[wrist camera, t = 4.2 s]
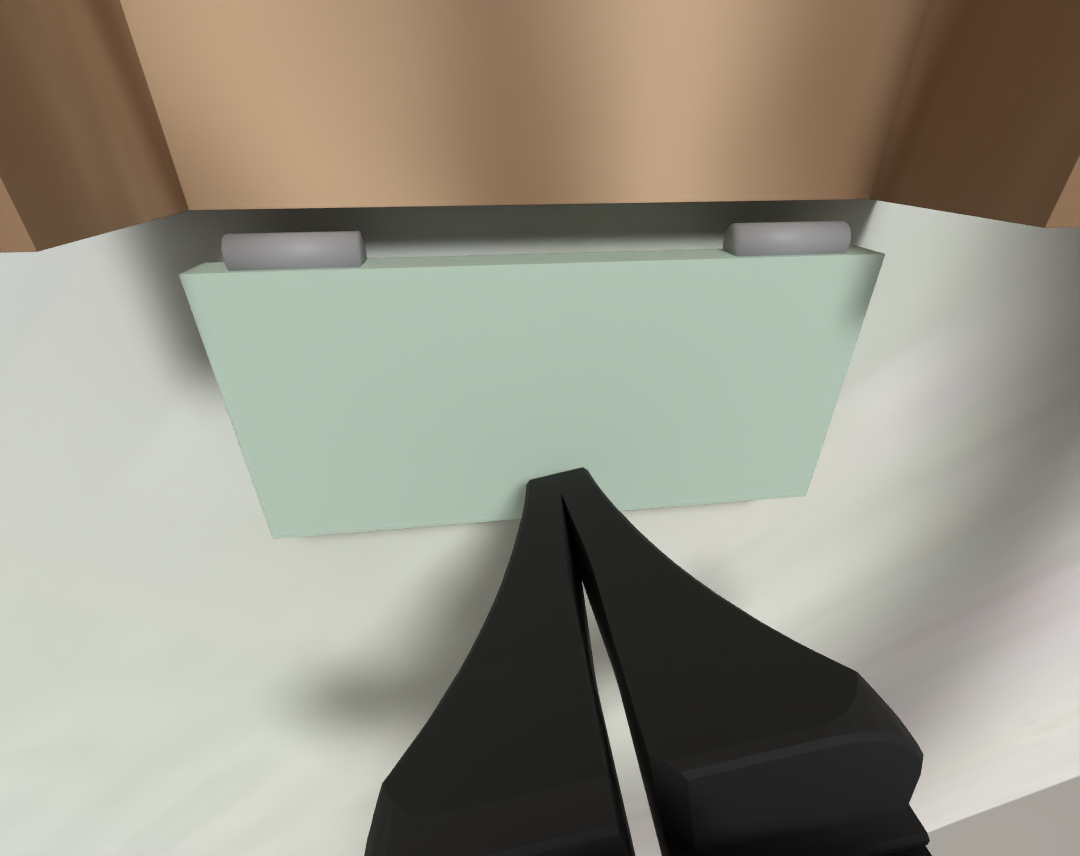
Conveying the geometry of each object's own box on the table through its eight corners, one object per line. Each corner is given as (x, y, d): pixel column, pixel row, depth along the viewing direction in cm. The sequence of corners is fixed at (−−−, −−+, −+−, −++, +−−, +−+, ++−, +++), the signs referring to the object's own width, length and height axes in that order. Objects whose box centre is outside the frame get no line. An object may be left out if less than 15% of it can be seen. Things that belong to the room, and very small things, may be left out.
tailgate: (895, 223, 10) (806, 495, 14) (862, 217, 11) (785, 474, 15) (166, 239, 9) (272, 539, 12) (193, 230, 10) (285, 512, 13)
